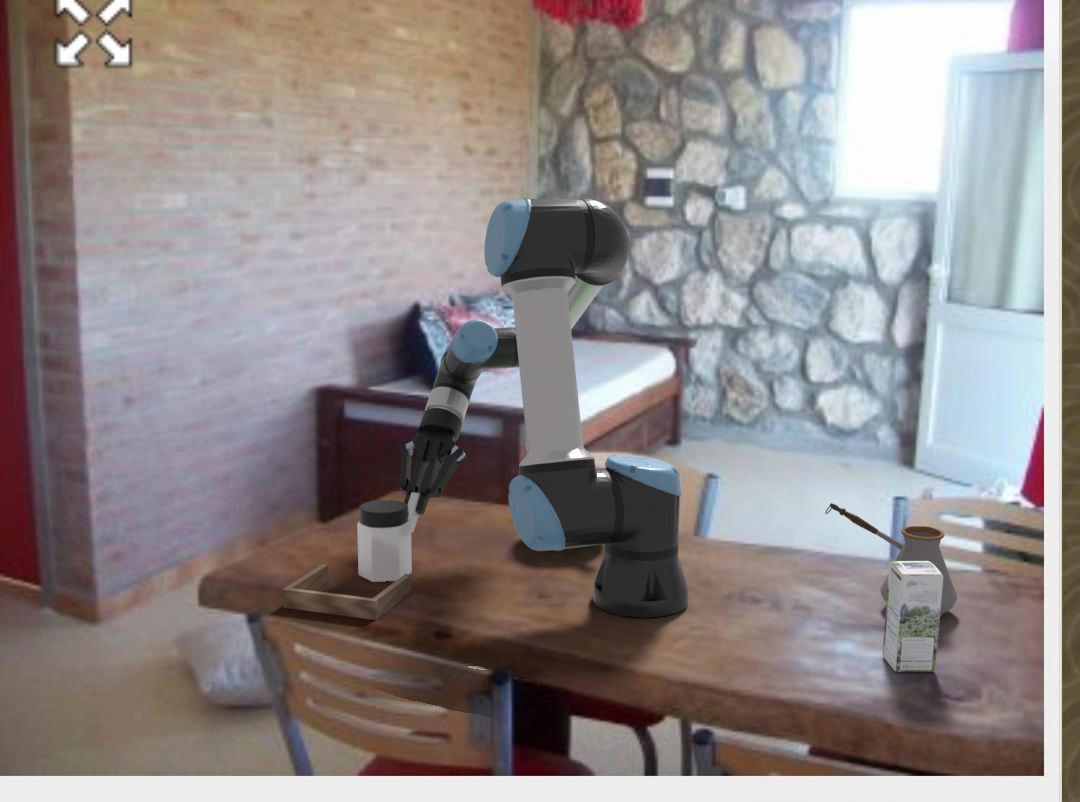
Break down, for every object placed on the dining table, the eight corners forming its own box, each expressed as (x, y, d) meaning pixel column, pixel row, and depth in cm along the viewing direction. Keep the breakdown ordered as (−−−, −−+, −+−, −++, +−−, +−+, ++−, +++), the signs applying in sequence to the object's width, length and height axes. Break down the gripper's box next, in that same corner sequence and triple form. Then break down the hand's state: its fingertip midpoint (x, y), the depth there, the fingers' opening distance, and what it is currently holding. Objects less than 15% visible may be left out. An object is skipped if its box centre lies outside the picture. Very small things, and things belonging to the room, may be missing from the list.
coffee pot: (964, 607, 188) (972, 516, 185) (943, 629, 178) (950, 534, 176) (835, 580, 200) (839, 494, 197) (808, 600, 190) (813, 510, 187)
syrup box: (921, 656, 169) (928, 558, 166) (936, 673, 163) (944, 572, 160) (881, 656, 168) (888, 558, 166) (895, 674, 163) (902, 572, 160)
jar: (420, 576, 201) (419, 507, 198) (378, 586, 195) (377, 516, 193) (391, 562, 207) (390, 496, 205) (350, 572, 202) (349, 504, 200)
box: (411, 592, 193) (411, 574, 192) (376, 620, 181) (375, 601, 180) (323, 581, 198) (322, 563, 197) (283, 607, 186) (282, 589, 185)
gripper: (481, 430, 223) (447, 542, 210) (417, 425, 227) (380, 534, 214) (470, 408, 217) (435, 521, 204) (405, 403, 221) (366, 514, 208)
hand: (407, 528), depth 209 cm, fingers closed
